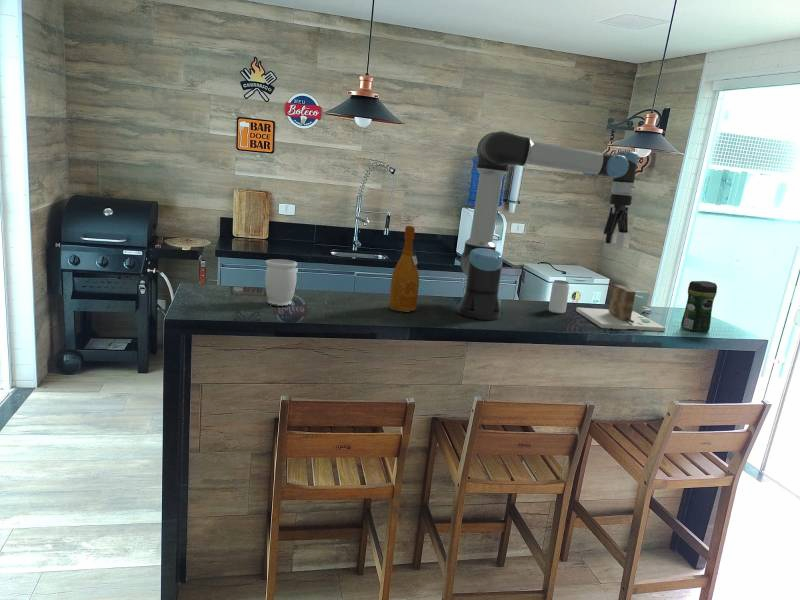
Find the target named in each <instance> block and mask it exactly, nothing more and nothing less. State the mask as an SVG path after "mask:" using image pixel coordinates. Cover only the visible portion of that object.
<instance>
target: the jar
mask: <svg viewBox="0 0 800 600" xmlns="http://www.w3.org/2000/svg"><path fill="white" fill-rule="evenodd" d="M265 265H266V269H265V274H264V284H265V291H266V296H267V298H268V300H267V302H269V303H272V304H277V305H288V304H291V303H292V304H293V302H292V299H294V298H293V297H294V295H295V290H296V287H297V280H298V279H297V278H298V277H297V275H298V273H297V268H296V267H297V266H298V262H297V261H294V260H291V259H290V260H289V259H283V258H281V259H279V258H278V259H277V258H276V259H275V258H274V259H272V258H271V259H267V260H265Z"/></svg>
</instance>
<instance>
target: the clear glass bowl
mask: <svg viewBox="0 0 800 600" xmlns="http://www.w3.org/2000/svg"><path fill="white" fill-rule="evenodd" d="M649 298H650V291H635V298H634V303H633V309H632V310H633V311H635V312H638V313H641V314H643V313H642V312H650V313H652V309H651V308H650V307H648V305H649Z"/></svg>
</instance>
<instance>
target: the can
mask: <svg viewBox="0 0 800 600" xmlns="http://www.w3.org/2000/svg"><path fill="white" fill-rule="evenodd" d="M569 283H570V282H569V281H566V280H562V279H561V280H560V279H555V280H553V282H552V284H551V291H550V297H549V304H548V305H549V306H548V311H549V312H550V313H553V314H565V313H566V311H567V304H568V299H569V291H570V284H569Z"/></svg>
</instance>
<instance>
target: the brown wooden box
mask: <svg viewBox="0 0 800 600" xmlns="http://www.w3.org/2000/svg"><path fill="white" fill-rule="evenodd" d="M635 292H636V291H634V290H633V289H630V288H628V287H626V286H624V285H622V284H613V285H612V290H611V297H610V302H609V308H608V309H609V313H611V314H613V315H614V316H616V317H618V318H619V319H621V320H625V321H630V322H631V323H634V321H633V320H631V314H632V309H633V303H634V298H635Z"/></svg>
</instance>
